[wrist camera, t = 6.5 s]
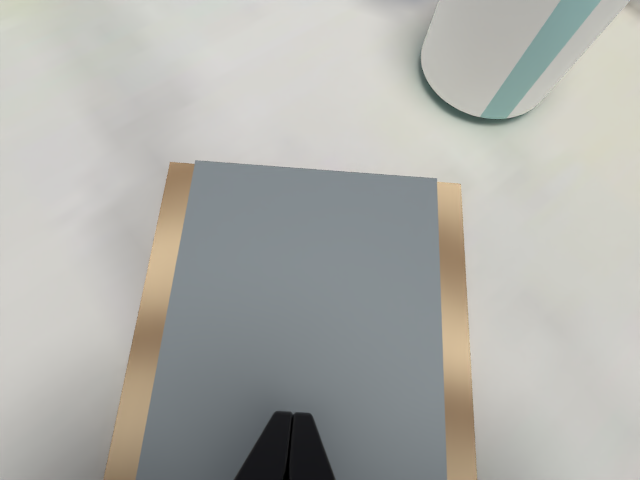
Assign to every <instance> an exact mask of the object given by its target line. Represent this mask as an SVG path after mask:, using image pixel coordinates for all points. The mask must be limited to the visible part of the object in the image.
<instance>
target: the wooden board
mask: <svg viewBox="0 0 640 480" xmlns="http://www.w3.org/2000/svg"><path fill="white" fill-rule="evenodd" d="M194 165H195V164H189V163H176V162H170V165H169V170H168V175H167V179H166V184H165V189H164V194H163V198H162V203H161V208H160V213H159V217H158V222H157V227H156V232H155V236H154V241H153V246H152V251H151V255H150V260H149V265H148V270H147V274H146V279H145V284H144V289H143V293H142V298H141V303H140V308H139V312H138V317H137V322H136V327H135V331H134V336H133V341H132V346H131V351H130V355H129V360H128V365H127V370H126V374H125V379H124V384H123V389H122V393H121V398H120V403H119V408H118V412H117V417H116V422H115V427H114V431H113V436H112V441H111V446H110V450H109V455H108V460H107V465H106V469H105V474H104V479H103V480H136V474H137V469H138V464H139V458H140V453H141V448H142V442H143V437H144V432H145V426H146V421H147V416H148V410H149V405H150V400H151V394H152V389H153V384H154V378H155V373H156V368H157V362H158V357H159V352H160V346H161V341H162V336H163V330H164V325H165V320H166V314H167V309H168V304H169V298H170V293H171V288H172V282H173V277H174V272H175V266H176V261H177V256H178V250H179V245H180V240H181V234H182V229H183V224H184V218H185V213H186V208H187V202H188V197H189V192H190V186H191V181H192V176H193V170H194ZM437 194H438V224H439V253H440V283H441V312H442V342H443V371H444V401H445V430H446V460H447V480H477V469H476V451H475V433H474V415H473V397H472V379H471V360H470V342H469V324H468V306H467V288H466V270H465V252H464V234H463V215H462V197H461V184H457V183H444V182H437Z"/></svg>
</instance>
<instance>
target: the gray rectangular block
mask: <svg viewBox="0 0 640 480" xmlns="http://www.w3.org/2000/svg"><path fill="white" fill-rule="evenodd" d="M275 411H290V412H292V413H293V414H294V413H295V412H306V413H311V414H312V416H313V418H314V421H315V423H316V426H317V429H318V432H319V434H320V437H321V440H322V443H323V445H324V448H325V451H326V454H327V456H328V459H329V462H330V465H331V467H332V470H333V473H334V476H335V478H336V480H447V460H446V430H445V401H444V371H443V342H442V312H441V283H440V253H439V224H438V194H437V178H424V177H411V176H397V175H384V174H370V173H357V172H344V171H330V170H317V169H303V168H290V167H277V166H263V165H250V164H237V163H223V162H210V161H196V160H195V165H194V170H193V176H192V181H191V186H190V192H189V197H188V202H187V208H186V213H185V218H184V224H183V229H182V234H181V240H180V245H179V250H178V256H177V261H176V266H175V272H174V277H173V282H172V288H171V293H170V298H169V304H168V309H167V314H166V320H165V325H164V330H163V336H162V341H161V346H160V352H159V357H158V362H157V368H156V373H155V378H154V384H153V389H152V394H151V400H150V405H149V410H148V416H147V421H146V426H145V432H144V437H143V442H142V448H141V453H140V458H139V464H138V469H137V474H136V480H233V479H234V478H235V476H236V474H237V473H238V471H239V469H240V468H241V466H242V465H243V463H244V461H245V460H246V458H247V456H248V455H249V453H250V451H251V450H252V448H253V446H254V445H255V443H256V441H257V440H258V438H259V436H260V435H261V433H262V431H263V430H264V428H265V426H266V425H267V423H268V421H269V420H270V418H271V416H272V415H273V413H274V412H275Z"/></svg>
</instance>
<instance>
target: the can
mask: <svg viewBox="0 0 640 480" xmlns="http://www.w3.org/2000/svg"><path fill="white" fill-rule="evenodd" d="M629 1H630V0H439V1H438V4H437V7H436V10H435V12H434V15H433V18H432V21H431V23H430V26H429V29H428V32H427V34H426V37H425V40H424V43H423V46H422V50H421V65H422V69H423V72H424V75H425V77H426V79H427V81H428V83H429V84H430V86H431V87H432V88H433V90H434V91H435V92H436V93H437V94H438V95H439V96H440V97H441V98H442V99H443V100H444V101H446V102H447V103H448V104H450V105H451V106H453V107H455V108H457V109H458V110H460V111H463V112H465V113H467V114H470V115H473V116H477V117H482V118H489V119H505V118H512V117H516V116H519V115H522V114H524V113H526V112H528V111H530V110H532V109H533V108H535V107H536V106H537V105H538V104H539V103H540V102H541V101H542V100H543V99H544V98H545V96H546V95H547V94H548V93H549V92H550V91H551V90H552V89H553V87H554V86H555V85H556V84H557V83H558V82H559V81H560V79H561V78H562V77H563V76H564V75H565V74H566V73H567V72H568V70H569V69H570V68H571V67H572V66H573V65H574V64H575V62H576V61H577V60H578V59H579V58H580V57H581V56H582V55H583V53H584V52H585V51H586V50H587V49H588V48H589V47H590V45H591V44H592V43H593V42H594V41H595V40H596V39H597V38H598V36H599V35H600V34H601V33H602V32H603V31H604V30H605V28H606V27H607V26H608V25H609V24H610V23H611V22H612V21H613V19H614V18H615V17H616V16H617V15H618V14H619V13H620V11H621V10H622V9H623V8H624V7H625V6H626V5H627V3H628V2H629Z"/></svg>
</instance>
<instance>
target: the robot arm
mask: <svg viewBox="0 0 640 480" xmlns="http://www.w3.org/2000/svg"><path fill="white" fill-rule="evenodd" d="M233 480H336V478H335V476H334V473H333V470H332V467H331V465H330V462H329V459H328V456H327V454H326V451H325V448H324V445H323V443H322V440H321V437H320V434H319V432H318V429H317V426H316V423H315V421H314V418H313V416H312V414H311V413H306V412H295V413H294V414H293V413H292V412H290V411H275V412H274V413H273V415H272V416H271V418H270V420H269V421H268V423H267V425H266V426H265V428H264V430H263V431H262V433H261V435H260V436H259V438H258V440H257V441H256V443H255V445H254V446H253V448H252V450H251V451H250V453H249V455H248V456H247V458H246V460H245V461H244V463H243V465H242V466H241V468H240V469H239V471H238V473H237V474H236V476H235V478H234V479H233Z"/></svg>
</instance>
